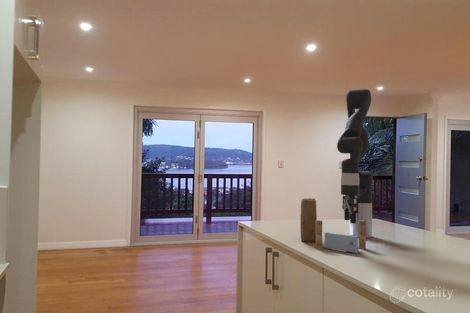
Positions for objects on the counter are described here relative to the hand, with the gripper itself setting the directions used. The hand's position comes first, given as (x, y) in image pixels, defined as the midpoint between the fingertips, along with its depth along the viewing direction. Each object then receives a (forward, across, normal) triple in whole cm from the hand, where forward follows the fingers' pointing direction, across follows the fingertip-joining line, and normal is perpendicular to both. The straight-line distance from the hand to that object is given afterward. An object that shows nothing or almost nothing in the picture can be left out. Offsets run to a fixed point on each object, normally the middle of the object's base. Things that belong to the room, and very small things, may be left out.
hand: (350, 221), depth 165 cm
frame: (+12, +4, +3) cm, 13 cm away
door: (+12, -2, +5) cm, 13 cm away
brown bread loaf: (+13, +21, +14) cm, 28 cm away
